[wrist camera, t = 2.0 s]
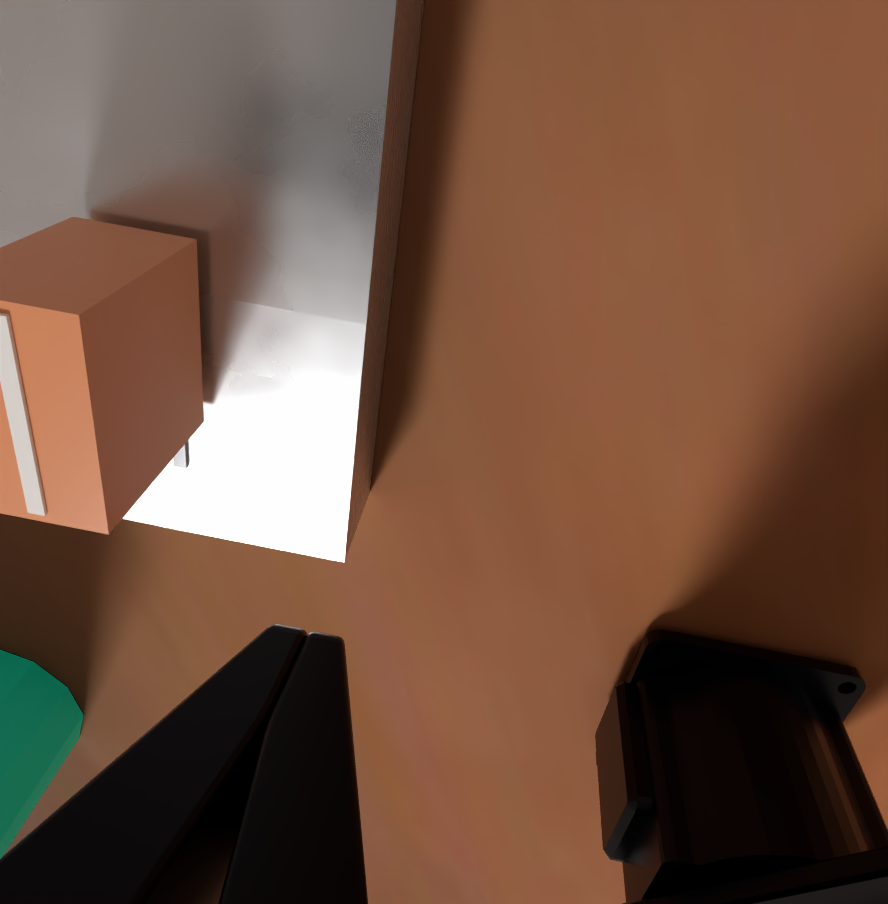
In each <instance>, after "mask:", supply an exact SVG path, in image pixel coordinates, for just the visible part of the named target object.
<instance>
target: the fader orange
mask: <svg viewBox="0 0 888 904" xmlns="http://www.w3.org/2000/svg"><path fill="white" fill-rule="evenodd" d="M203 422H204V410H203V385H202V360H201V335H200V310H199V285H198V260H197V239H193V238H187V237H182V236H176V235H171V234H165V233H160V232H155V231H149V230H144V229H138V228H133V227H127V226H122V225H117V224H111V223H106V222H100V221H95V220H89V219H84V218H79V217H71V218H68V219H66V220H64V221H61V222H59V223H57V224H54V225H52V226H50V227H47V228H45V229H43V230H40V231H38V232H36V233H33V234H31V235H29V236H26V237H24V238H22V239H19V240H17V241H15V242H12V243H10V244H8V245H5V246H3V247H1V248H0V513H1V514H6V515H11V516H16V517H22V518H27V519H32V520H37V521H42V522H47V523H52V524H57V525H62V526H68V527H73V528H78V529H83V530H88V531H93V532H98V533H103V534H108V535H109V534H110V533H111V531H112V530H113V529H114V528H115V527H116V525H117V524H118V523H119V522H120V521H121V519H122V518H123V517H124V516H125V515H126V513H127V512H128V511H129V510H130V509H131V508H132V506H133V505H134V504H135V503H136V502H137V500H138V499H139V498H140V497H141V496H142V494H143V493H144V492H145V491H146V490H147V489H148V487H149V486H150V485H151V484H152V483H153V481H154V480H155V479H156V478H157V477H158V475H159V474H160V473H161V472H162V471H163V470H164V468H165V467H166V466H167V465H168V464H169V462H170V461H171V460H172V459H173V458H174V456H175V455H176V454H177V453H178V452H179V450H180V449H181V448H182V447H183V446H184V445H185V443H186V442H187V441H188V440H189V439H190V437H191V436H192V435H193V434H194V433H195V431H196V430H197V429H198V428H199V427H200V426H201V424H202V423H203Z"/></svg>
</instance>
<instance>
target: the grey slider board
mask: <svg viewBox="0 0 888 904" xmlns="http://www.w3.org/2000/svg"><path fill="white" fill-rule="evenodd" d="M423 7H424V0H0V248H1V247H3V246H5V245H8V244H10V243H12V242H15V241H17V240H19V239H22V238H24V237H26V236H29V235H31V234H33V233H36V232H38V231H40V230H43V229H45V228H47V227H50V226H52V225H54V224H57V223H59V222H61V221H64V220H66V219H68V218H71V217H79V218H84V219H89V220H95V221H100V222H106V223H111V224H117V225H122V226H127V227H133V228H138V229H144V230H149V231H155V232H160V233H165V234H171V235H176V236H182V237H187V238H193V239H197V260H198V285H199V310H200V335H201V360H202V385H203V410H204V422H203V423H202V424H201V426H200V427H199V428H198V429H197V430H196V431H195V433H194V434H193V435H192V436H191V437H190V439H189V440H188V441H187V442H186V443H185V445H184V446H183V447H182V448H181V449H180V450H179V452H178V453H177V454H176V455H175V456H174V458H173V459H172V460H171V461H170V462H169V464H168V465H167V466H166V467H165V468H164V470H163V471H162V472H161V473H160V474H159V475H158V477H157V478H156V479H155V480H154V481H153V483H152V484H151V485H150V486H149V487H148V489H147V490H146V491H145V492H144V493H143V494H142V496H141V497H140V498H139V499H138V500H137V502H136V503H135V504H134V505H133V506H132V508H131V509H130V510H129V511H128V512H127V513H126V515H125V516H124V517H123V518H122V519H126V520H131V521H136V522H141V523H146V524H152V525H157V526H162V527H167V528H172V529H177V530H182V531H187V532H193V533H198V534H203V535H208V536H213V537H218V538H223V539H228V540H233V541H239V542H244V543H249V544H254V545H259V546H264V547H269V548H274V549H280V550H285V551H290V552H295V553H300V554H305V555H310V556H315V557H321V558H326V559H331V560H336V561H341V562H344V561H345V558H346V556H347V553H348V550H349V547H350V545H351V542H352V539H353V537H354V534H355V531H356V528H357V526H358V523H359V520H360V518H361V515H362V512H363V510H364V507H365V504H366V501H367V499H368V496H369V493H370V485H371V476H372V467H373V458H374V449H375V440H376V431H377V422H378V413H379V404H380V395H381V386H382V377H383V368H384V359H385V350H386V341H387V332H388V323H389V314H390V305H391V296H392V287H393V278H394V269H395V260H396V251H397V242H398V233H399V224H400V215H401V206H402V197H403V188H404V179H405V170H406V161H407V152H408V143H409V134H410V125H411V116H412V107H413V98H414V89H415V80H416V71H417V62H418V53H419V43H420V34H421V25H422V16H423Z"/></svg>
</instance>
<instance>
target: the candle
mask: <svg viewBox="0 0 888 904" xmlns="http://www.w3.org/2000/svg"><path fill="white" fill-rule="evenodd" d="M83 716H84V715H83V713H82V711H81V710H80V708H79V706H78V705H77V703H76V701H75V699H74V698H73V696H72V694H71V692H70V691H69V689H68V687H66V686H65V685H64V684H63V683H61V682H60V681H59V680H57V679H56V678H55V677H53V676H52V675H51V674H49V673H48V672H47V671H45V670H44V669H43V668H41V667H40V666H39V665H37V664H36V663H35V662H33V661H30V660H28V659H25V658H22V657H19V656H16V655H14V654H11V653H8V652H5V651H3V650H0V859H1V858H2V856H3V855H4V853H5V852H6V850H7V849H8V847H9V846H10V844H11V842H12V841H13V839H14V838H15V836H16V835H17V833H18V832H19V830H20V828H21V827H22V825H23V824H24V822H25V821H26V819H27V818H28V816H29V815H30V813H31V811H32V810H33V808H34V807H35V805H36V804H37V802H38V801H39V799H40V798H41V796H42V794H43V793H44V791H45V790H46V788H47V787H48V785H49V784H50V782H51V781H52V779H53V777H54V776H55V774H56V773H57V771H58V770H59V768H60V767H61V765H62V763H63V762H64V760H65V759H66V757H67V756H68V754H69V753H70V751H71V750H72V748H73V746H74V745H75V743H76V742H77V740H78V739H79V736H80V731H81V726H82V721H83Z"/></svg>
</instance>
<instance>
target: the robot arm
mask: <svg viewBox="0 0 888 904" xmlns="http://www.w3.org/2000/svg"><path fill="white" fill-rule="evenodd" d="M657 646H665V647H662V648H657ZM845 682H846V683H845ZM865 687H866V686H865V682H864V680H863V678H862V676H861V674H860V672H859V671H858V670H857V669H856V668H854V667H851V666H847V665H841V664H836V663H831V662H826V661H821V660H816V659H811V658H806V657H800V656H795V655H790V654H785V653H780V652H775V651H770V650H765V649H760V648H754V647H749V646H744V645H739V644H734V643H729V642H724V641H719V640H714V639H708V638H703V637H698V636H693V635H688V634H683V633H678V632H673V631H667V630H655V631H651V632H650V633H648V634H646V636H645V637H644V638H643V641H642V643H641V645H640V648H639V650H638V653H637V655H636V657H635V660H634V662H633V664H632V667H631V669H630V671H629V674H628V676H627V679H626V681H625V682H623V681H622V682H620V683H619V684H618V685H617V686H615V688H614V690H613V693H612V695H611V697H610V700H609V702H608V705H607V707H606V710H605V712H604V714H603V717H602V719H601V722H600V724H599V726H598V729H597V731H596V735H595V738H596V763H597V767H598V782H599V796H600V811H601V826H602V840H603V850H604V851H605V853H606V854H607V856H608V857H609V858H610V860H615V861H620V862H622V863H623V874H624V885H625V896H626V903H623V904H888V829H887V827H886V824H885V822H884V820H883V817H882V815H881V812H880V810H879V808H878V805H877V803H876V800H875V798H874V796H873V793H872V791H871V788H870V786H869V784H868V781H867V779H866V777H865V774H864V772H863V769H862V767H861V765H860V762H859V760H858V757H857V755H856V753H855V750H854V748H853V746H852V743H851V741H850V738H849V736H848V734H847V731H846V729H845V726H844V724H843V721H844V719H845V718H846V716H847V715H848V714H849V712H850V711H851V709H852V708H853V706H854V705H855V704H856V702H857V701H858V699H859V698H860V696H861V695H862V694H863V692H864V690H865ZM0 904H368V898H367V887H366V875H365V864H364V853H363V842H362V831H361V820H360V809H359V798H358V787H357V776H356V765H355V754H354V743H353V732H352V721H351V710H350V699H349V687H348V676H347V665H346V654H345V645H344V640H343V639H342V638H341V637H339V636H334V635H329V634H324V633H319V632H311V633H309V634H308V635H307V632H306V631H305V630H303V629H299V628H294V627H289V626H284V625H279V624H275V625H271V626H269V627H268V628H267V629H266V630H264V631H263V632H262V633H261V634H260V635H259V636H257V637H256V638H255V639H254V640H253V641H252V642H251V643H249V644H248V645H247V646H246V647H245V648H244V649H242V650H241V651H240V652H239V653H238V654H237V655H235V656H234V657H233V658H232V659H231V660H230V661H229V662H227V663H226V664H225V665H224V666H223V667H222V668H220V669H219V670H218V671H217V672H216V673H215V674H214V675H212V676H211V677H210V678H209V679H208V680H207V681H205V682H204V683H203V684H202V685H201V686H200V687H198V688H197V689H196V690H195V691H194V692H193V693H192V694H190V695H189V696H188V697H187V698H186V699H185V700H183V701H182V702H181V703H180V704H179V705H178V706H177V707H175V708H174V709H173V710H172V711H171V712H170V713H168V714H167V715H166V716H165V717H164V718H163V719H161V720H160V721H159V722H158V723H157V724H156V725H155V726H153V727H152V728H151V729H150V730H149V731H148V732H146V733H145V734H144V735H143V736H142V737H141V738H139V739H138V740H137V741H136V742H135V743H134V744H133V745H131V746H130V747H129V748H128V749H127V750H126V751H124V752H123V753H122V754H121V755H120V756H119V757H118V758H116V759H115V760H114V761H113V762H112V763H111V764H109V765H108V766H107V767H106V768H105V769H104V770H102V771H101V772H100V773H99V774H98V775H97V776H96V777H94V778H93V779H92V780H91V781H90V782H89V783H87V784H86V785H85V786H84V787H83V788H82V789H80V790H79V791H78V792H77V793H76V794H75V795H74V796H72V797H71V798H70V799H69V800H68V801H67V802H65V803H64V804H63V805H62V806H61V807H60V808H58V809H57V810H56V811H55V812H54V813H53V814H52V815H50V816H49V817H48V818H47V819H46V820H45V821H43V822H42V823H41V824H40V825H39V826H38V827H37V828H35V829H34V830H33V831H32V832H31V833H30V834H28V835H27V836H26V837H25V838H24V839H23V840H21V841H20V842H19V843H18V844H17V845H16V846H15V847H13V848H12V849H11V850H10V851H9V852H8V853H6V854H5V855H4V856H3V857H2V858H1V859H0Z"/></svg>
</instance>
